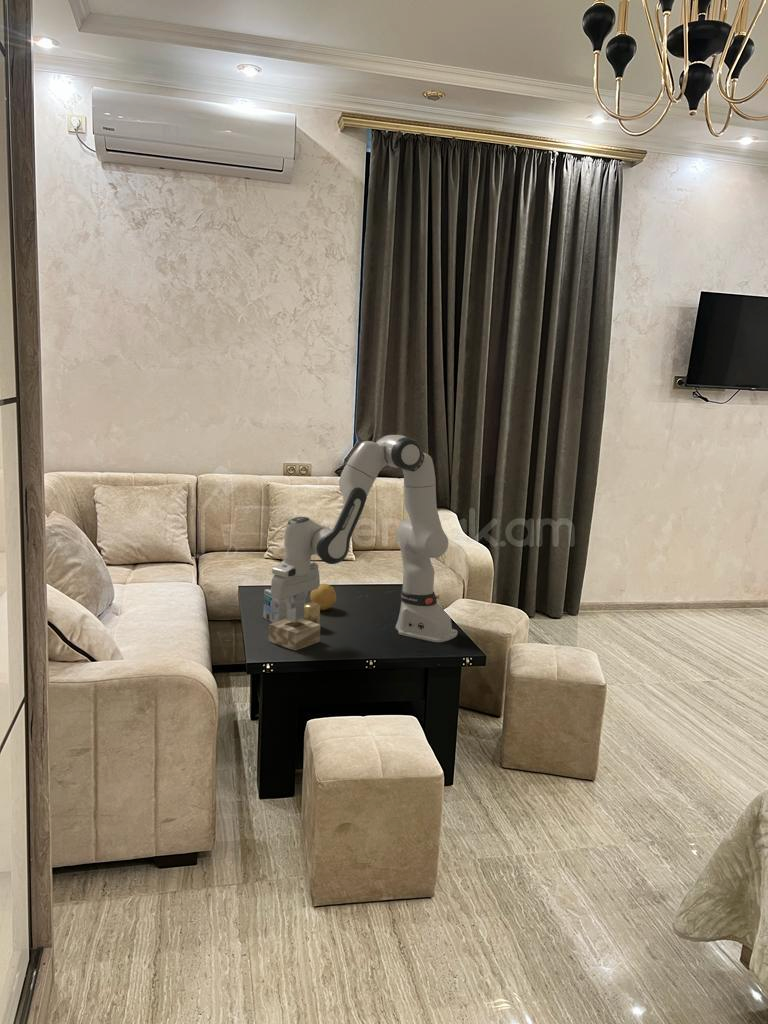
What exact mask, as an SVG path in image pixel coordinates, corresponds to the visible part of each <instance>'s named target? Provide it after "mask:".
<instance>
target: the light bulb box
mask: <svg viewBox="0 0 768 1024" xmlns="http://www.w3.org/2000/svg"><path fill="white" fill-rule="evenodd" d="M263 618H264V619H265V620H267V621H269V622H271V624H272V623H275V622H278V621H281V620H284V619H287V603H286V601H285V599H281V600H278V599H275V598H273V597H272V595H271V588H267V589H264V590H263Z"/></svg>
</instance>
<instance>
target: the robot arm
mask: <svg viewBox="0 0 768 1024" xmlns="http://www.w3.org/2000/svg"><path fill="white" fill-rule="evenodd" d="M386 466H389V467H391V468H395V469H396V468H398V469H401V470H402V473H403V492H404V493H403V495H404V496H403V497H404V498H403V499H404V502H403V503H404V509H405V510H406V512H407V514H408V517H409V519H403V520H402V521H400V522H399V523H398V525H397V526H396V529H395V537H396V540H397V542H398V545H399V549H400V554H401V560H402V566H403V569H402V571H403V572H402V588H401V591H400V609H399V614H398V618H397V622H396V624H395V629H396V630H397V631H398V635H399V636H400V635H401V636H405V637H409V638H415V639H419V640H424V641H428V642H433V643H444V642H447V641H450V640H452V639H454V638H456V637H457V636H458V630H457V629H454V628H452V627H453V626H452V619H451V616H450V615H449V614H448V613H447V612H446V611H445V610H444V609H443V608H442V606H440V605H439V604H438V600H439V599H440V595H439V594H438V595H436V594H435V591H434V587H435V568H434V566H433V564H432V561H431V559H438V558H441V557H442V556H443V555H444V554H446V552H447V551H448V548H449V538H448V536H447V534H446V533H445V531H444V529H443V526H442V523H441V520H440V515H439V511H438V506H437V491H436V489H437V487H436V486H437V485H436V482H437V481H436V474H435V472H436V471H435V466H434V461H433V458H432V456H430V455H429V454H428V453H425V452H423V449H422V447H421V445H420V444H419V442H418V441H416V440H415V439H413V438H412V437H407V436H405V435H401V434H393V433H387V434H386V433H385V434H383V435H381V436H380V437H379V436H378V438H377V439H375V440H374V441H371V440H365V441H362V442H361V443H360V444H359V445H358V446H357V447H356V448H355V449H354V451H353V453H352V454H351V455H350V457H349V458H348V461H347V462H346V464H345V465H344V467H343V469H342V471H341V474H340V477H339V481H338V486H339V489H340V492H341V494H342V499H343V502H342V503H343V504H342V508H341V511H340V513H339V514H338V517H337V519H336V520H335V523H334V526H333V527H332V528H330V527H328V526H325V525H321V524H318V523H317V522H315V521H313V520H312V519H310V517H306V516H299V517H294V518H293V517H292V518H291V519H290V520H288V521H287V523H286V526H285V531H284V539H283V540H284V549H285V550H284V555H283V560H282V561H281V562H279V563H278V564H277V565H275V566H274V567H272V570H271V573H272V575H273V576H272V579H271V585H270V589H271V595H272V597H273V598H275V599H278V600H281V599H285V601H286V603H287V609H292V608H293V606H294V603H292V602H291V599H292V596H295V595H296V593H299V592H303V591H305V596H304V604H305V603H306V599H307V597H308V593H309V592H311V591H312V590H315V589H318V588H319V586H320V584H321V583H320V582H321V579H320V570H319V564H318V563H317V562H316V561H312V556H314V555H316V556H318V557H319V558H320V559H321V560H322V561H323V562H324V563H325V564H329V565H337V564H339V563H341V562H342V561H344V559H345V558H346V557H347V556H348V554H349V550H350V545H351V544H350V543H351V538H352V535H353V532H354V531H355V528H356V525H357V524H358V521H359V519H360V516H361V515H362V513H363V510H364V507H365V504H366V501H367V497H368V496H369V493H370V491H371V489H372V487H373V484H374V483H375V481H376V480H377V477H378V475H379V473H380V471H382V469H384V468H385V467H386ZM311 561H312V562H311Z"/></svg>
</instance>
